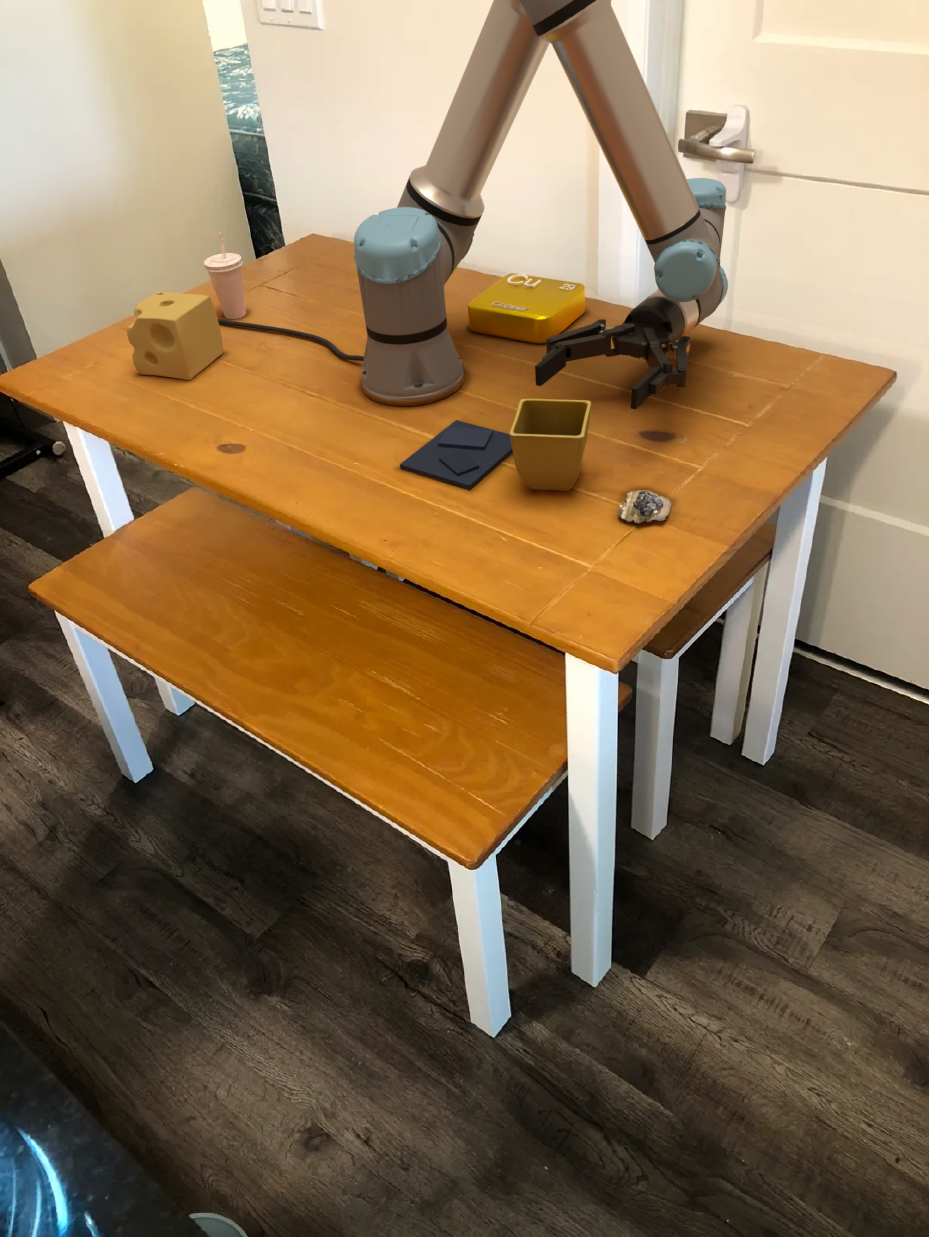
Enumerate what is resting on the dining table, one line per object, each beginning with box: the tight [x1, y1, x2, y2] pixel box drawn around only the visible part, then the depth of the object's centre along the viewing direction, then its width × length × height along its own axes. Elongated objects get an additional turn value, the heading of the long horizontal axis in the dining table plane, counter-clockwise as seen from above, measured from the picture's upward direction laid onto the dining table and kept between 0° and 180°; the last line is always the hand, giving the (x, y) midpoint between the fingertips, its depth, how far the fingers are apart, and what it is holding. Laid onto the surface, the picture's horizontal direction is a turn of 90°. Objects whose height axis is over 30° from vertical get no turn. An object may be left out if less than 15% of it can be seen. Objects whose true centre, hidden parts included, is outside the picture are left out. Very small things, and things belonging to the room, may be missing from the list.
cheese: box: [126, 290, 224, 381], centre depth 155 cm, size 10×11×10 cm
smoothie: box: [203, 232, 247, 320], centre depth 167 cm, size 6×6×14 cm
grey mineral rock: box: [616, 489, 672, 524], centre depth 116 cm, size 7×8×2 cm
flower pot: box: [509, 398, 592, 492], centre depth 120 cm, size 9×9×9 cm
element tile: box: [467, 272, 586, 345], centre depth 159 cm, size 15×15×5 cm
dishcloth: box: [399, 419, 513, 490], centre depth 129 cm, size 11×13×1 cm
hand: (584, 387), depth 123 cm, fingers open, 13 cm apart
